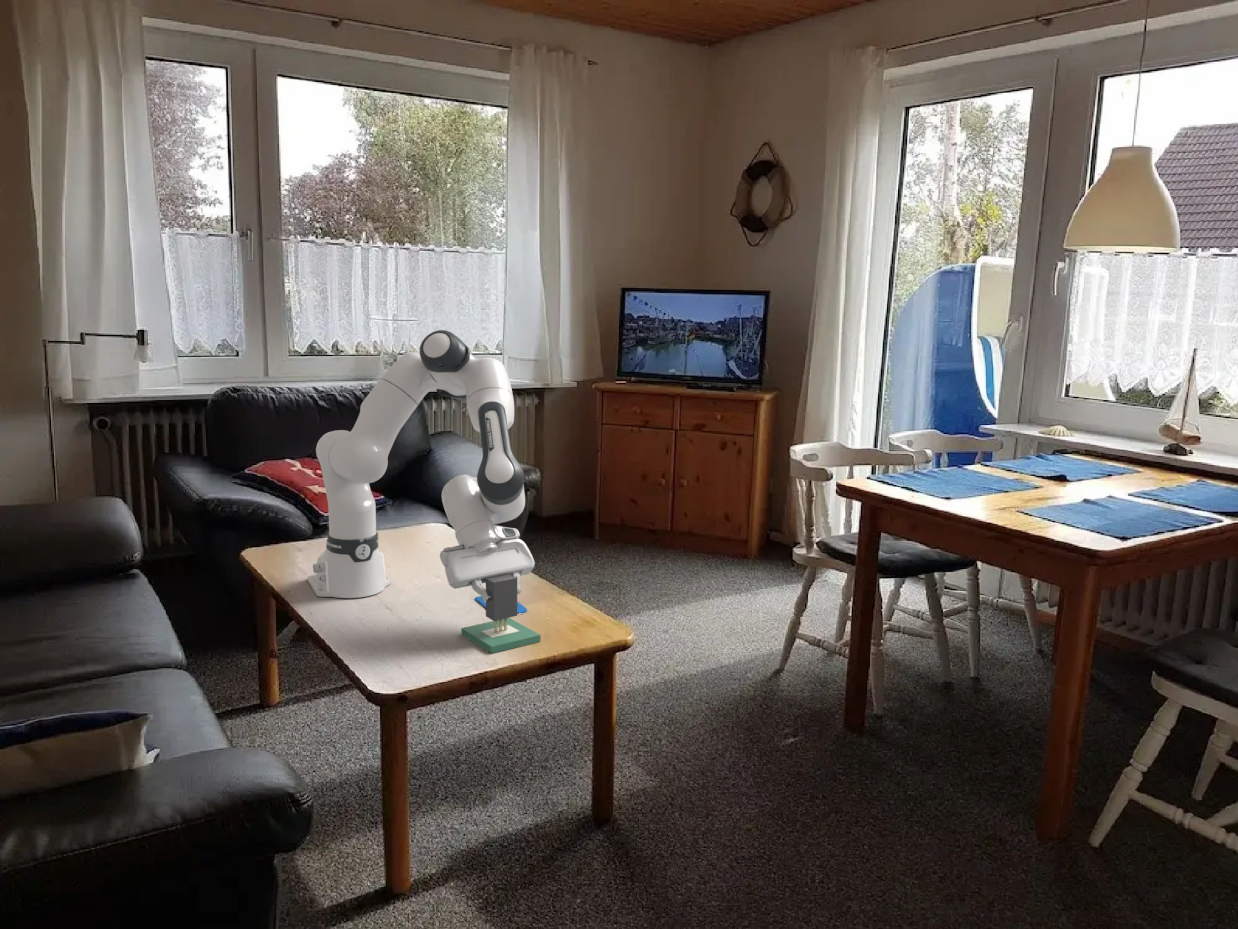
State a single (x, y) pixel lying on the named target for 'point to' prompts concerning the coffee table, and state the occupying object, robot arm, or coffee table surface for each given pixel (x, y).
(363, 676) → the coffee table surface
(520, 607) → the handheld gaming device
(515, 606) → the block
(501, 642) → the board
